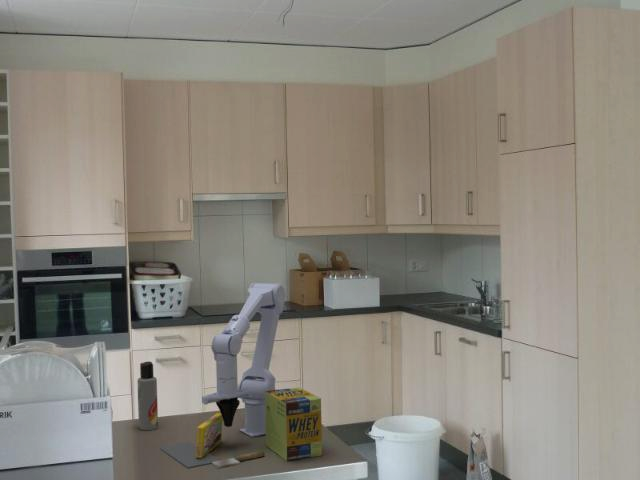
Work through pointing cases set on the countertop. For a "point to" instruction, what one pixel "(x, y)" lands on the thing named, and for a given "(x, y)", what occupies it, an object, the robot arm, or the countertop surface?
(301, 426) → the protein box
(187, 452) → the mat
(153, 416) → the lotion bottle
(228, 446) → the countertop surface
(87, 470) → the countertop surface
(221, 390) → the robot arm
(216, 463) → the turner
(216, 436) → the candy box
